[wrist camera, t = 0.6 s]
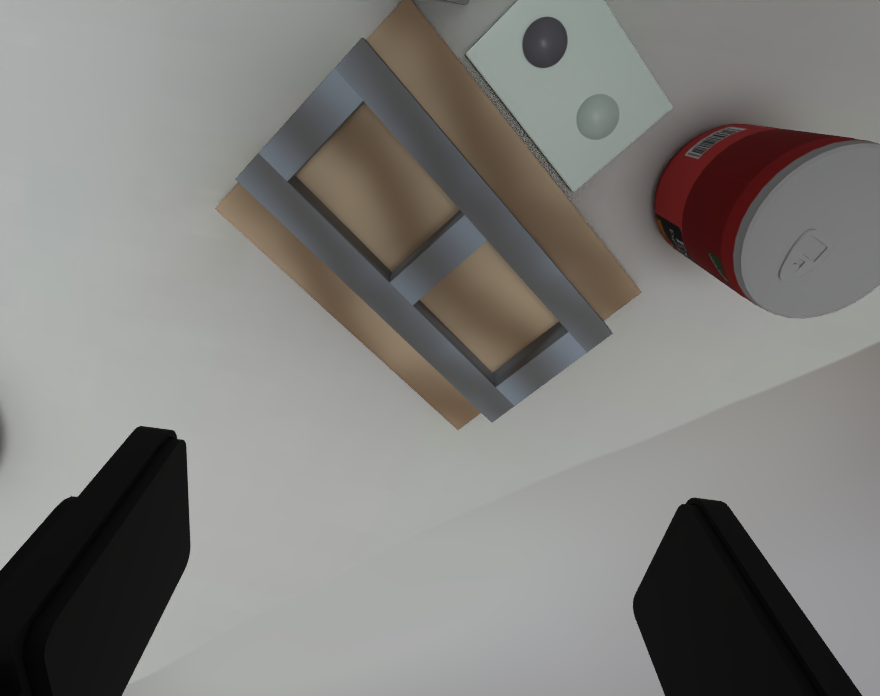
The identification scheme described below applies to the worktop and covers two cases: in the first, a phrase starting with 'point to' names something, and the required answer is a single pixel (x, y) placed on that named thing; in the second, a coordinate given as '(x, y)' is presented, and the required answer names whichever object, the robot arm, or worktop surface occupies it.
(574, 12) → the card
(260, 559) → the worktop surface
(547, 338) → the holder
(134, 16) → the worktop surface
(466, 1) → the skincare box
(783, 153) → the canned food
